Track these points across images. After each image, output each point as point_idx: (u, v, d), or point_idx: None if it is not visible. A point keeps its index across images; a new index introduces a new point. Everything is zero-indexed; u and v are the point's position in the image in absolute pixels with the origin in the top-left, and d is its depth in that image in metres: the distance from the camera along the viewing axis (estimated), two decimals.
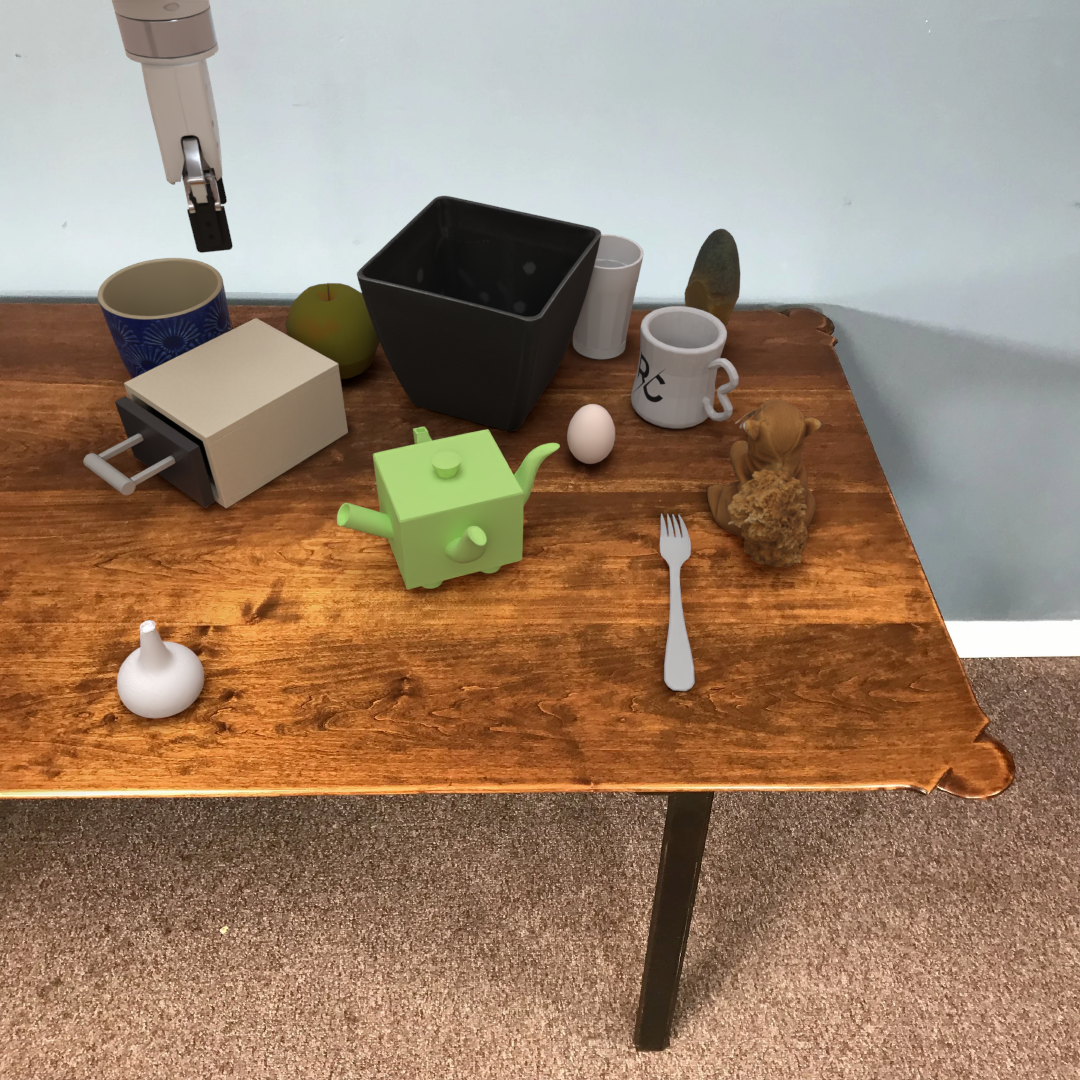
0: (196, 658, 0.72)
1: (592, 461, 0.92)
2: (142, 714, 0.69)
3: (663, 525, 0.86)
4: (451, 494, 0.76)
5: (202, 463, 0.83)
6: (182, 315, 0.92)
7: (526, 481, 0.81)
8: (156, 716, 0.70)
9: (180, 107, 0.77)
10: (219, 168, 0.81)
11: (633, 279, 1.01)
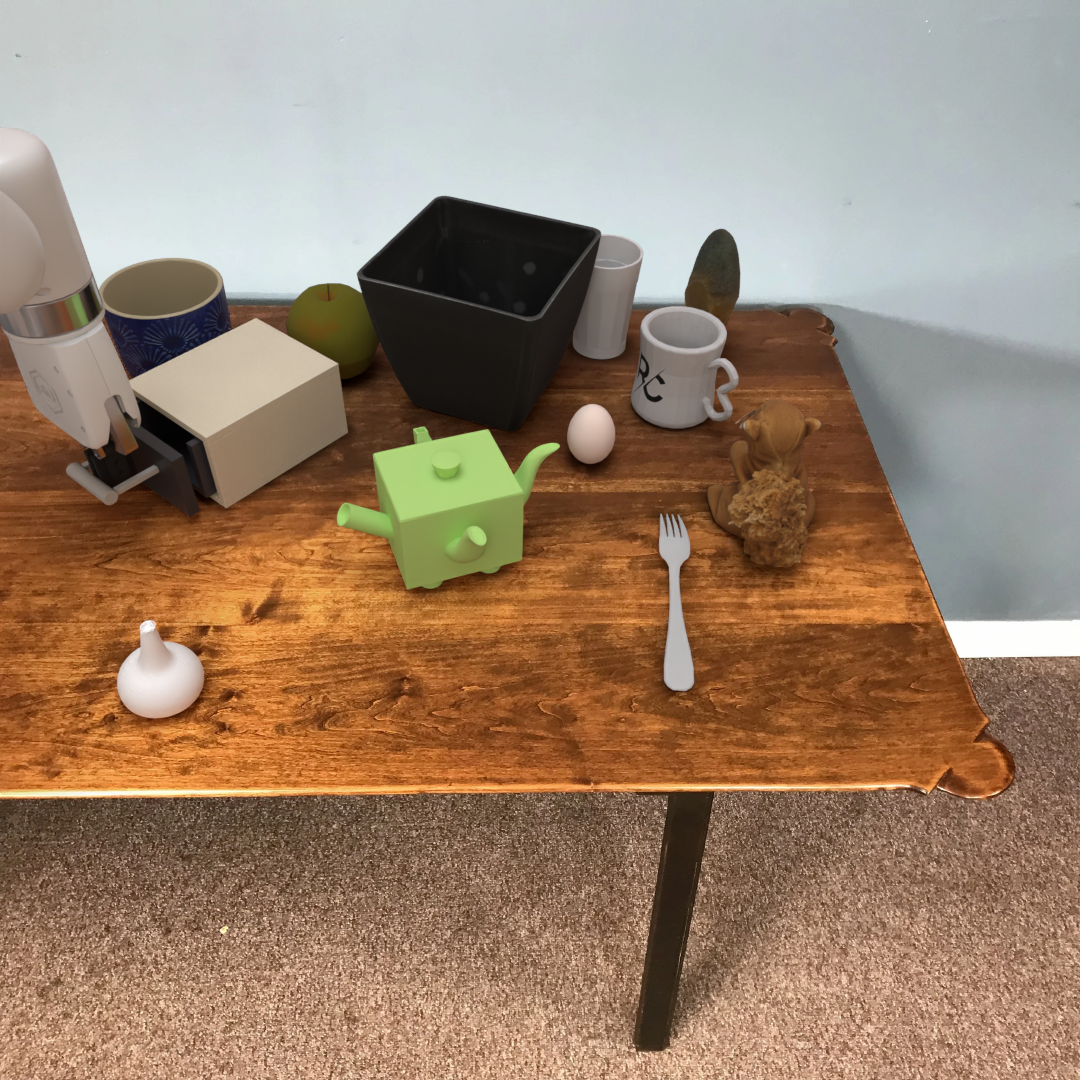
0: (196, 658, 0.72)
1: (592, 461, 0.92)
2: (142, 714, 0.69)
3: (662, 525, 0.86)
4: (451, 494, 0.76)
5: (186, 472, 0.82)
6: (182, 315, 0.92)
7: (526, 481, 0.81)
8: (156, 716, 0.70)
9: (99, 373, 0.72)
10: None
11: (633, 279, 1.01)
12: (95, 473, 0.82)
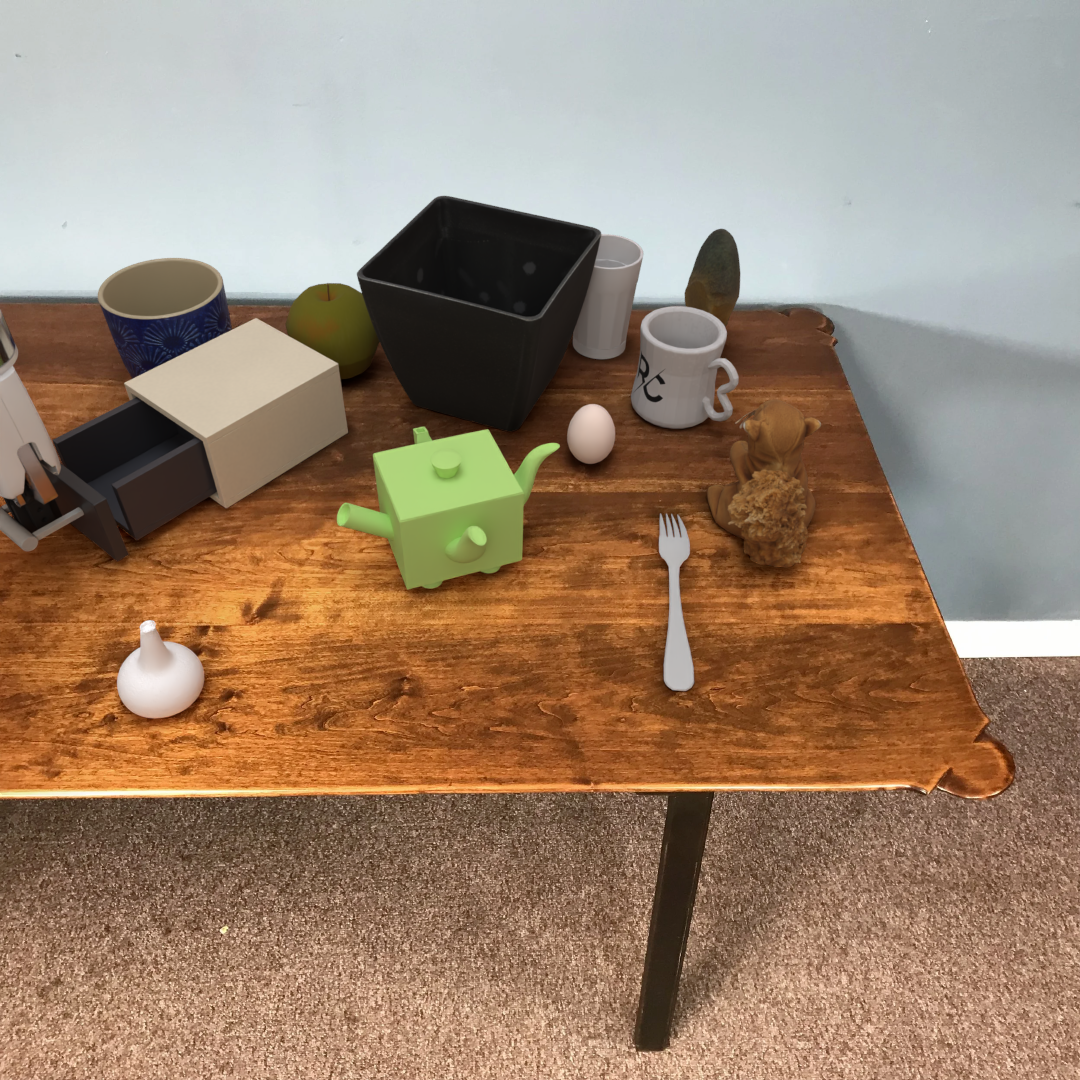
0: (196, 658, 0.72)
1: (592, 461, 0.92)
2: (142, 714, 0.69)
3: (662, 525, 0.86)
4: (451, 494, 0.76)
5: (111, 516, 0.78)
6: (182, 315, 0.92)
7: (526, 481, 0.81)
8: (156, 716, 0.70)
9: (10, 421, 0.68)
10: (59, 462, 0.73)
11: (633, 279, 1.01)
12: (17, 520, 0.78)
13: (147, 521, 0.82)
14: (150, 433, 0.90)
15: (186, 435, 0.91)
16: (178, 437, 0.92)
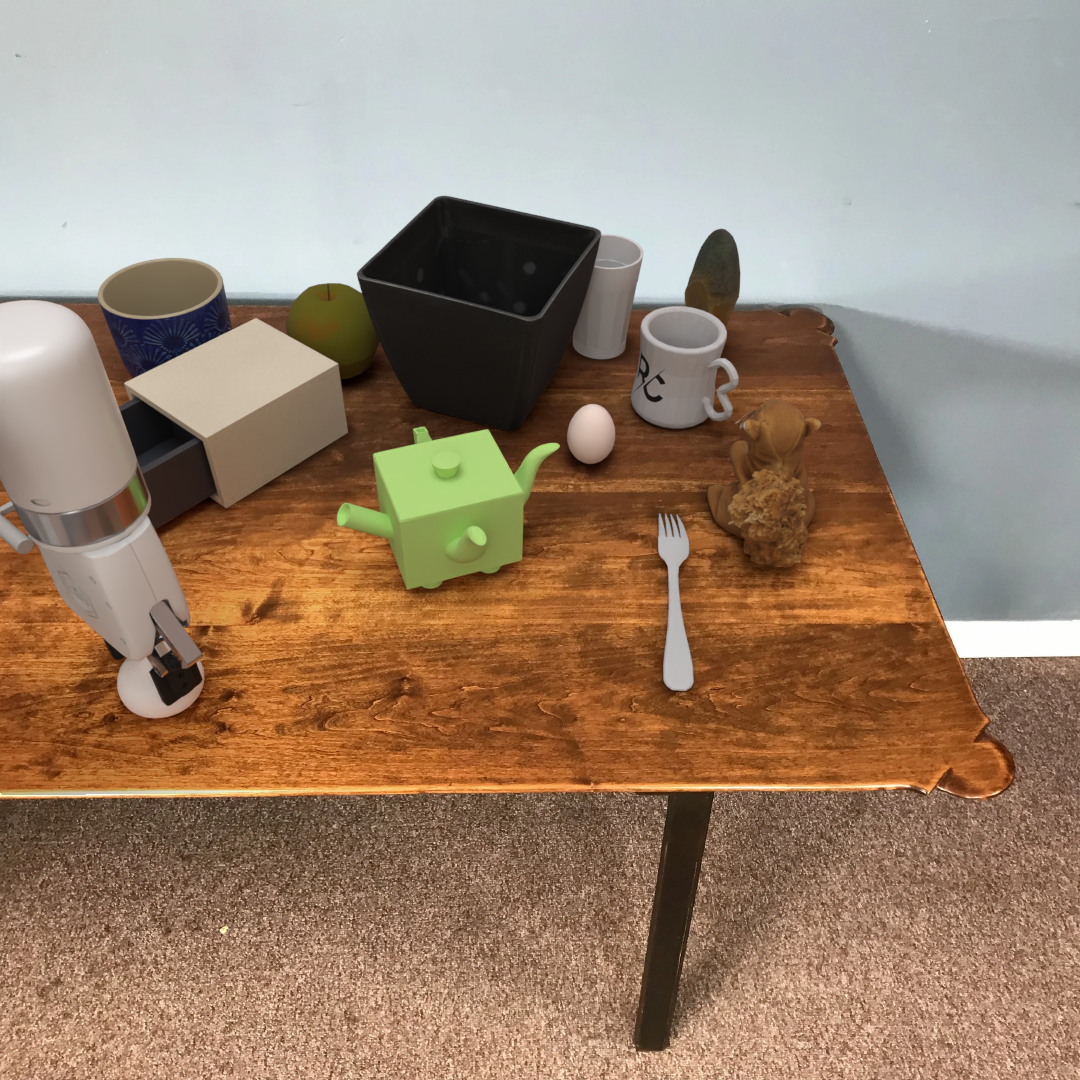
0: None
1: (592, 461, 0.92)
2: (142, 714, 0.69)
3: (661, 525, 0.86)
4: (451, 494, 0.76)
5: None
6: (182, 315, 0.92)
7: (526, 481, 0.81)
8: (156, 716, 0.70)
9: (145, 580, 0.59)
10: (189, 615, 0.64)
11: (633, 279, 1.01)
12: (110, 648, 0.70)
13: None
14: (147, 436, 0.89)
15: (183, 437, 0.91)
16: (174, 439, 0.92)
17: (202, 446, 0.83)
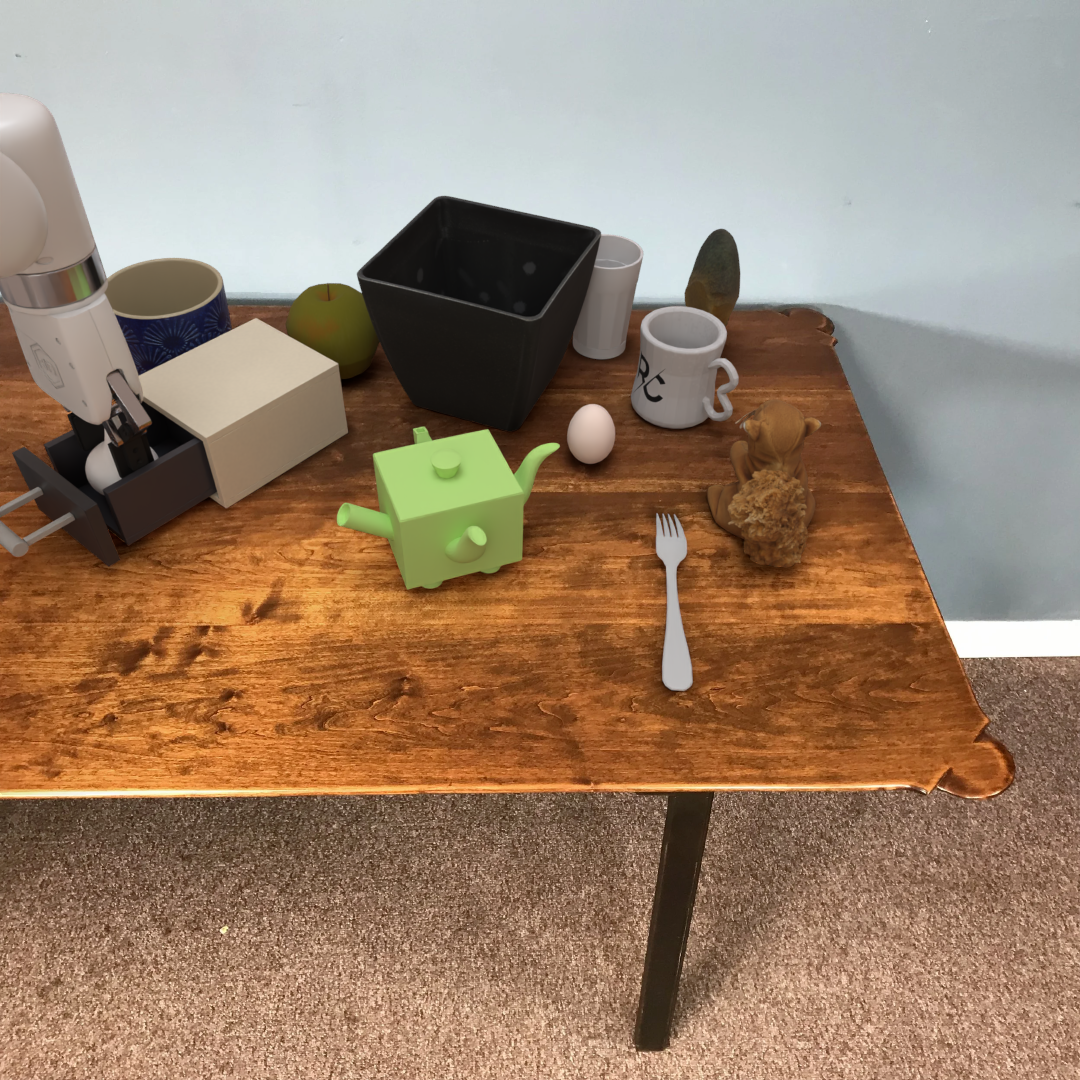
0: (153, 451, 0.84)
1: (592, 461, 0.92)
2: None
3: (659, 525, 0.86)
4: (451, 494, 0.76)
5: (102, 521, 0.78)
6: (182, 315, 0.92)
7: (526, 481, 0.81)
8: None
9: (102, 346, 0.71)
10: (142, 391, 0.76)
11: (633, 279, 1.01)
12: (79, 438, 0.82)
13: (138, 526, 0.82)
14: None
15: (179, 439, 0.91)
16: (171, 441, 0.91)
17: (198, 448, 0.83)
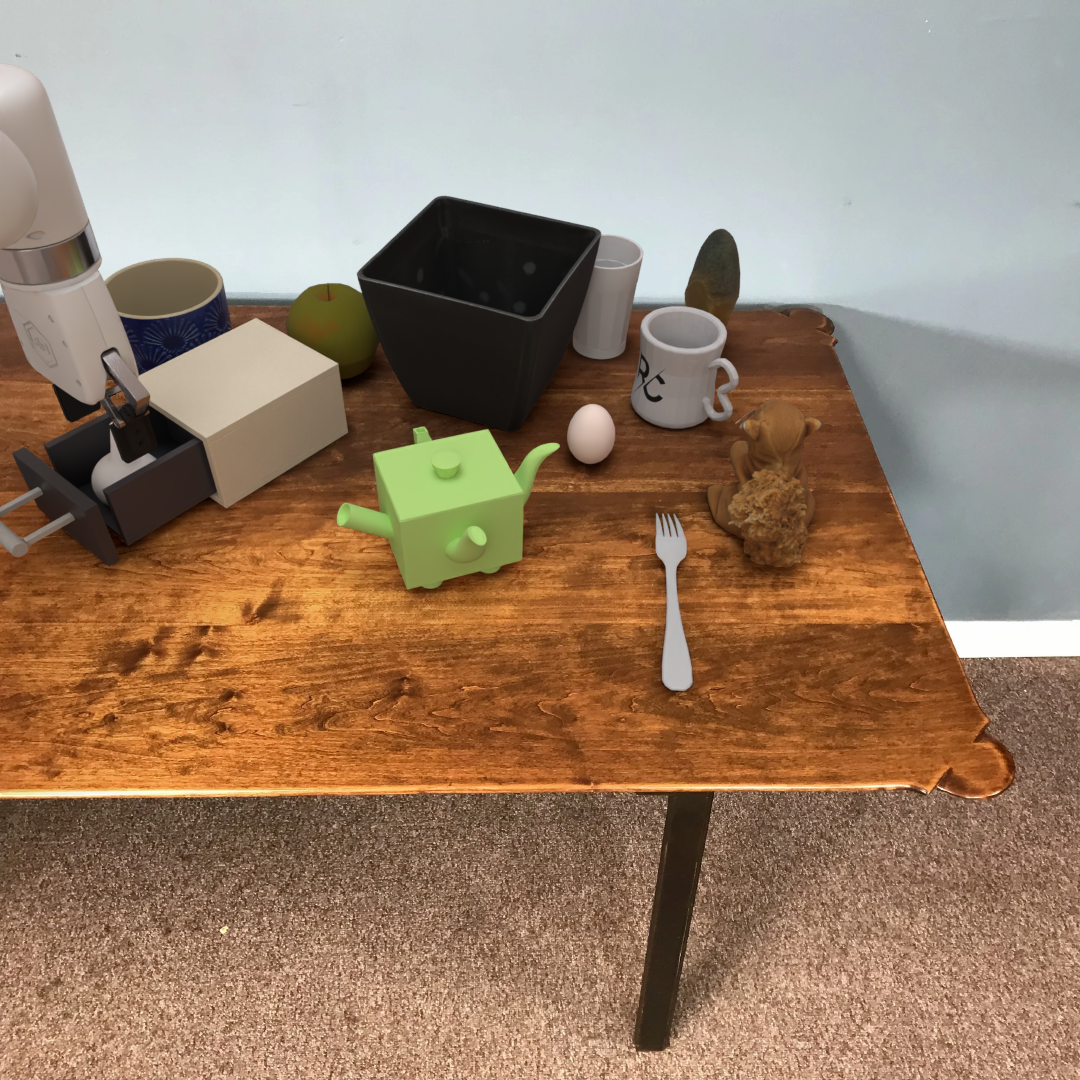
0: None
1: (592, 461, 0.92)
2: None
3: (659, 525, 0.86)
4: (451, 494, 0.76)
5: (102, 521, 0.78)
6: (182, 315, 0.92)
7: (526, 481, 0.81)
8: None
9: (96, 324, 0.70)
10: (137, 371, 0.75)
11: (633, 279, 1.01)
12: (64, 408, 0.81)
13: (138, 526, 0.82)
14: None
15: (179, 439, 0.91)
16: (171, 441, 0.91)
17: (198, 448, 0.83)
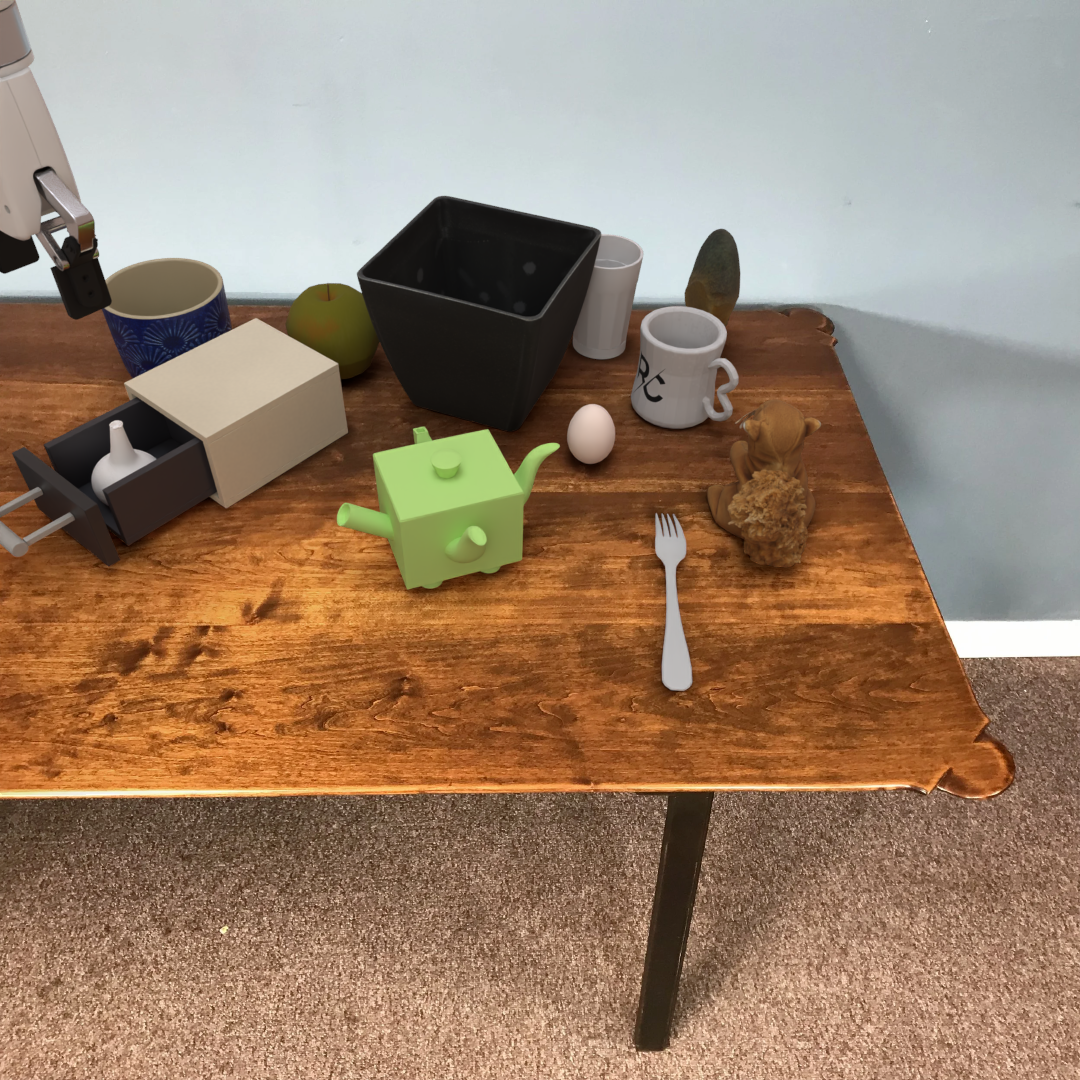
0: None
1: (592, 461, 0.92)
2: None
3: (658, 525, 0.86)
4: (451, 494, 0.76)
5: (102, 521, 0.78)
6: (182, 315, 0.92)
7: (526, 481, 0.81)
8: None
9: (25, 132, 0.58)
10: None
11: (633, 279, 1.01)
12: None
13: (138, 526, 0.82)
14: (143, 438, 0.89)
15: (179, 439, 0.91)
16: (171, 441, 0.91)
17: (198, 448, 0.83)
